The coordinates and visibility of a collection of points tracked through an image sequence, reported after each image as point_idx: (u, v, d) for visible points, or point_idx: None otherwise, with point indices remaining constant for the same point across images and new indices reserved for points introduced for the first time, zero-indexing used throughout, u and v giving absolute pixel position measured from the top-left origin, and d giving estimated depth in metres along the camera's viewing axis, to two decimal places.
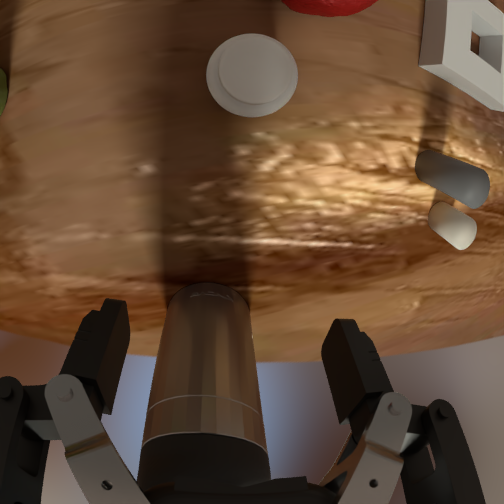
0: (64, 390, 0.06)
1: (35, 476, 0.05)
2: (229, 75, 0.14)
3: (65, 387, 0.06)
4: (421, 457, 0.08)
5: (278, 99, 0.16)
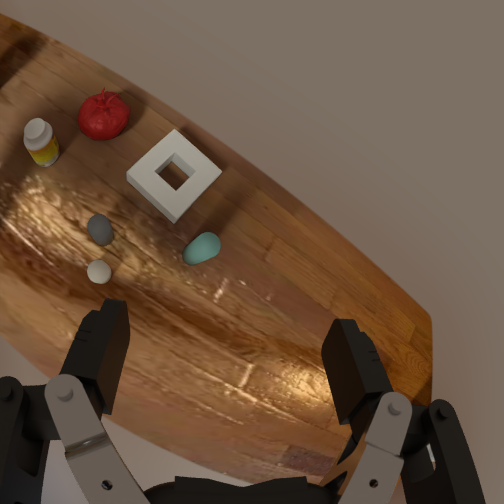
0: (64, 390, 0.06)
1: (35, 476, 0.05)
2: (27, 126, 0.35)
3: (65, 387, 0.06)
4: (421, 457, 0.08)
5: (36, 145, 0.37)
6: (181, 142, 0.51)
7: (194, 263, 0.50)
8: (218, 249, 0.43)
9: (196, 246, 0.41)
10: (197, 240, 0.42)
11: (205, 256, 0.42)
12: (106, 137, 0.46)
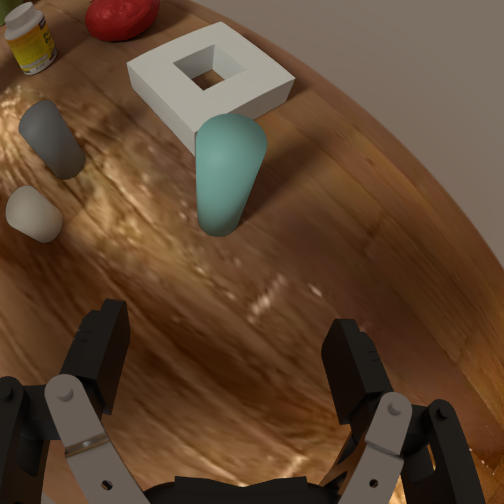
0: (64, 390, 0.06)
1: (35, 476, 0.05)
2: (12, 11, 0.17)
3: (65, 387, 0.06)
4: (421, 457, 0.08)
5: (14, 31, 0.18)
6: (229, 35, 0.26)
7: (213, 224, 0.23)
8: (258, 157, 0.15)
9: (198, 139, 0.14)
10: (204, 126, 0.14)
11: (217, 166, 0.14)
12: (115, 30, 0.25)
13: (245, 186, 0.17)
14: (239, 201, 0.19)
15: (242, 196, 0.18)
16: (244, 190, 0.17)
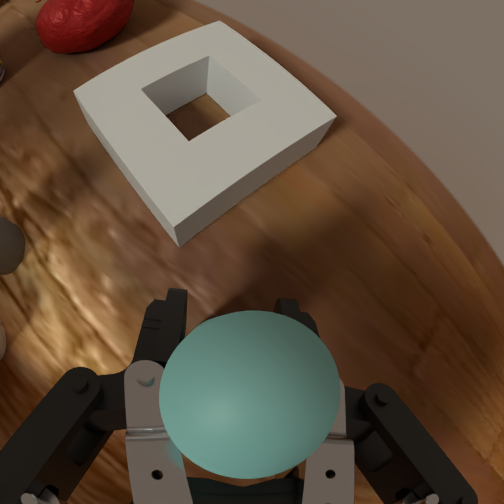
0: (146, 375, 0.07)
1: (80, 465, 0.06)
2: None
3: (147, 372, 0.07)
4: (372, 441, 0.08)
5: None
6: (231, 41, 0.17)
7: None
8: (317, 434, 0.05)
9: (165, 401, 0.05)
10: (178, 361, 0.05)
11: (222, 469, 0.05)
12: (69, 38, 0.17)
13: None
14: None
15: None
16: None
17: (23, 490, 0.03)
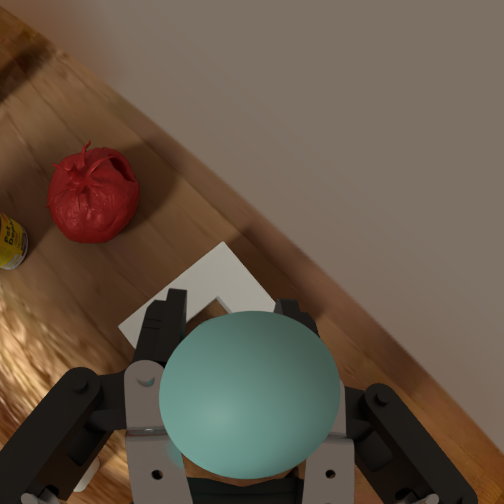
0: (146, 375, 0.07)
1: (80, 465, 0.06)
2: None
3: (147, 372, 0.07)
4: (372, 441, 0.08)
5: None
6: (234, 274, 0.26)
7: None
8: (317, 435, 0.05)
9: (165, 401, 0.05)
10: (178, 362, 0.05)
11: (222, 469, 0.05)
12: (90, 242, 0.26)
13: None
14: None
15: None
16: None
17: (23, 490, 0.03)
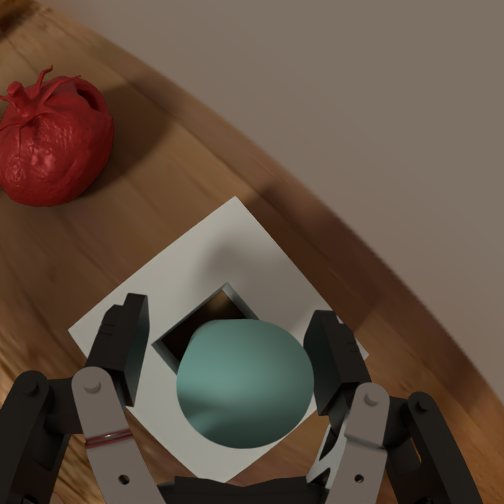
0: (92, 382, 0.07)
1: (50, 470, 0.05)
2: None
3: (93, 379, 0.07)
4: (405, 450, 0.08)
5: None
6: (254, 247, 0.16)
7: None
8: (296, 414, 0.07)
9: (181, 387, 0.07)
10: (191, 357, 0.07)
11: (223, 441, 0.07)
12: (39, 203, 0.15)
13: None
14: None
15: None
16: None
17: (4, 503, 0.03)
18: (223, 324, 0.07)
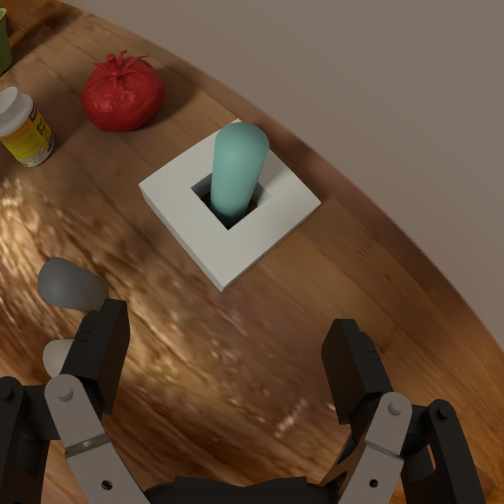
0: (64, 390, 0.06)
1: (35, 476, 0.05)
2: None
3: (65, 387, 0.06)
4: (421, 457, 0.08)
5: (3, 127, 0.20)
6: None
7: (224, 214, 0.27)
8: (262, 155, 0.19)
9: (216, 142, 0.19)
10: (221, 132, 0.19)
11: (232, 162, 0.19)
12: (118, 125, 0.28)
13: (252, 178, 0.21)
14: (247, 192, 0.23)
15: (250, 187, 0.23)
16: (251, 182, 0.22)
17: None
18: (233, 123, 0.19)
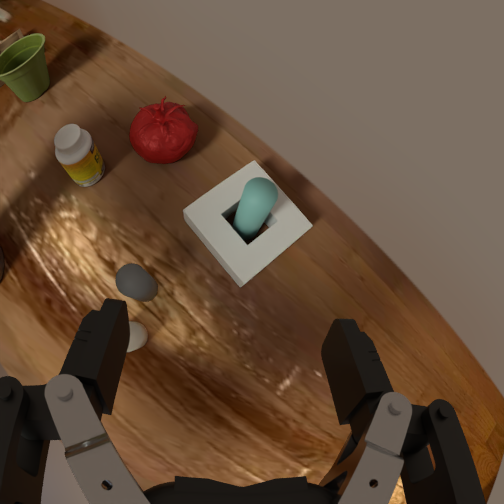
0: (64, 390, 0.06)
1: (35, 476, 0.05)
2: (59, 132, 0.31)
3: (65, 387, 0.06)
4: (421, 457, 0.08)
5: (68, 157, 0.32)
6: None
7: (244, 232, 0.39)
8: (273, 201, 0.31)
9: (244, 191, 0.31)
10: (247, 184, 0.31)
11: (254, 206, 0.30)
12: (162, 160, 0.39)
13: (266, 214, 0.33)
14: (262, 221, 0.35)
15: (264, 218, 0.34)
16: (265, 215, 0.33)
17: None
18: None
